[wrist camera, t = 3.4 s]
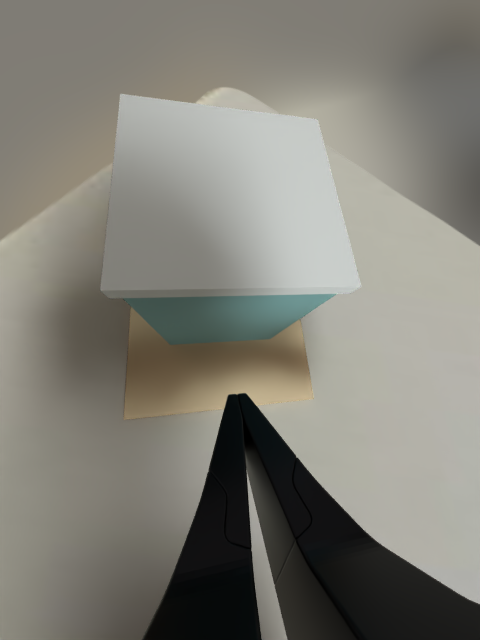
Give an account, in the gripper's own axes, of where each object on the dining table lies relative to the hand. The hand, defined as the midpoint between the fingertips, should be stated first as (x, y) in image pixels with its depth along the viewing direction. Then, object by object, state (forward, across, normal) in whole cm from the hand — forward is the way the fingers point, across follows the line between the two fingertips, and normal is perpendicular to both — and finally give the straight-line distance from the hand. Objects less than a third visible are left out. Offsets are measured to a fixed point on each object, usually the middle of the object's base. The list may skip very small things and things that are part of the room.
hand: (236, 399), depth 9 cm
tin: (+10, 0, -1) cm, 10 cm away
